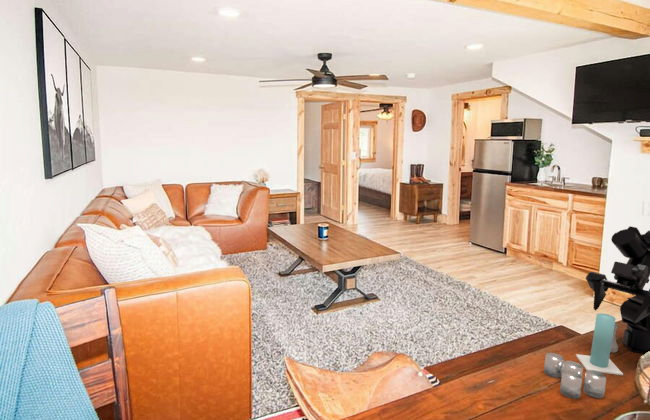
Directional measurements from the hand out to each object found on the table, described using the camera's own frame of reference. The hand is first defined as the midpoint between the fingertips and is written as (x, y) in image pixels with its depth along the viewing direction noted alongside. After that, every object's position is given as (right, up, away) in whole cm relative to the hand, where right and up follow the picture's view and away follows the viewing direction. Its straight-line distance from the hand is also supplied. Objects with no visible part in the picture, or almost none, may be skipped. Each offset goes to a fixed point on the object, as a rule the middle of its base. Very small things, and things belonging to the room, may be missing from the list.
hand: (613, 315), depth 106 cm
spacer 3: (-14, -15, -12) cm, 24 cm away
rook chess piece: (+5, -12, +9) cm, 15 cm away
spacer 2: (-16, -14, -8) cm, 23 cm away
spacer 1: (-18, -13, -4) cm, 23 cm away
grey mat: (-4, -13, 0) cm, 14 cm away
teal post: (-4, -12, 0) cm, 13 cm away
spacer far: (-19, -15, -13) cm, 27 cm away
